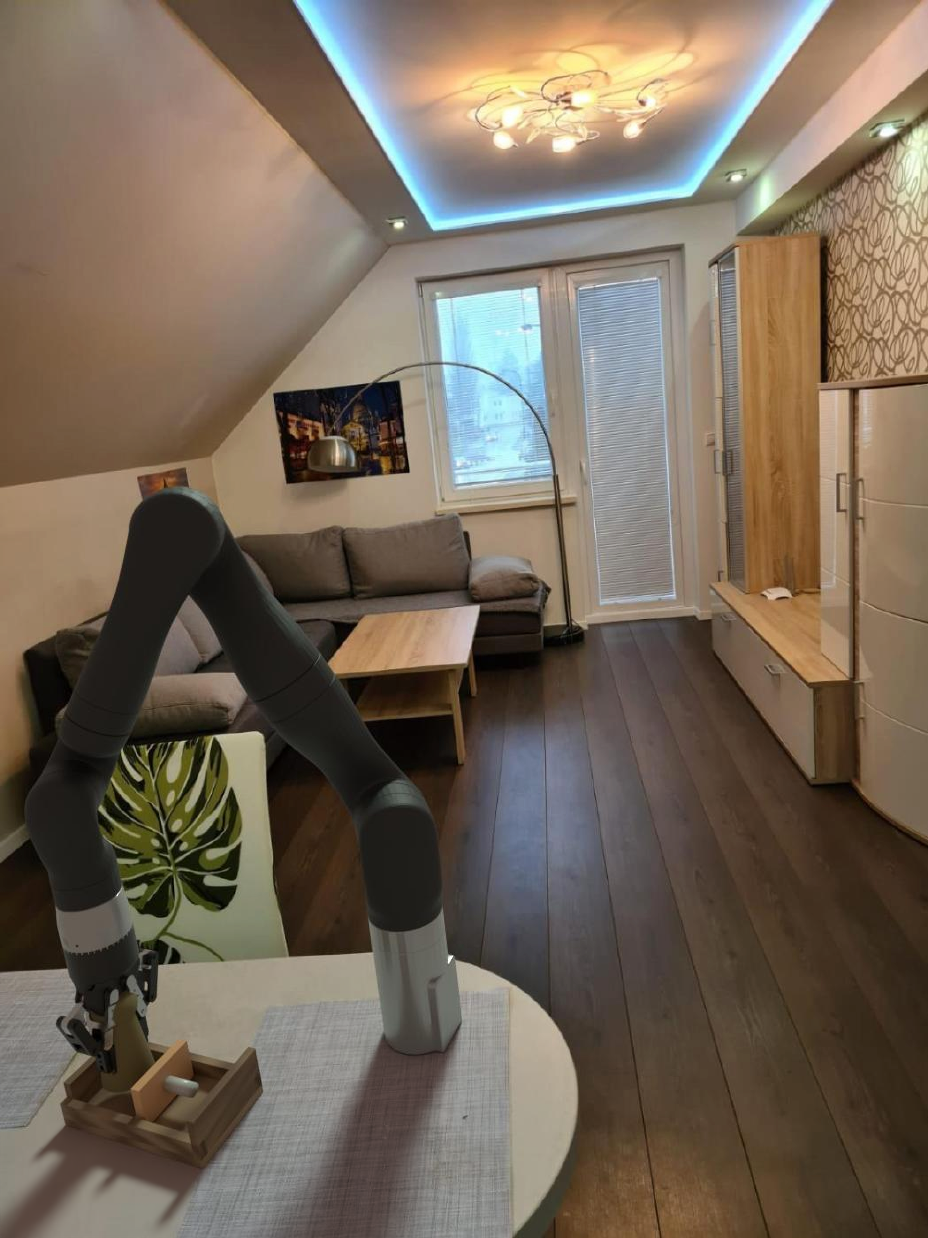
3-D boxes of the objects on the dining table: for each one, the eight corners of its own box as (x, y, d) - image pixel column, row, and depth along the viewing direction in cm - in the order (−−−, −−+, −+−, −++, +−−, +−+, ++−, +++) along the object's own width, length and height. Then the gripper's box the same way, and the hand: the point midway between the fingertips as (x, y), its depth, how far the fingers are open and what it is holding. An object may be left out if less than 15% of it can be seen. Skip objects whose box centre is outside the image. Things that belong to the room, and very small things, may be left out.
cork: (137, 1095, 96) (118, 1013, 94) (90, 1090, 98) (71, 1009, 95) (165, 1055, 102) (148, 977, 99) (121, 1052, 103) (103, 974, 101)
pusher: (219, 1082, 100) (212, 1047, 99) (173, 1136, 93) (165, 1099, 92) (186, 1073, 102) (178, 1038, 101) (138, 1126, 95) (130, 1089, 94)
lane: (263, 1091, 100) (255, 1048, 99) (203, 1169, 90) (193, 1123, 89) (133, 1056, 108) (124, 1017, 106) (65, 1125, 98) (54, 1082, 96)
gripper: (72, 975, 87) (104, 1111, 91) (166, 899, 100) (191, 1022, 104) (20, 963, 90) (53, 1096, 94) (118, 891, 103) (144, 1011, 107)
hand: (125, 1056), depth 99 cm, fingers closed on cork, 4 cm apart
